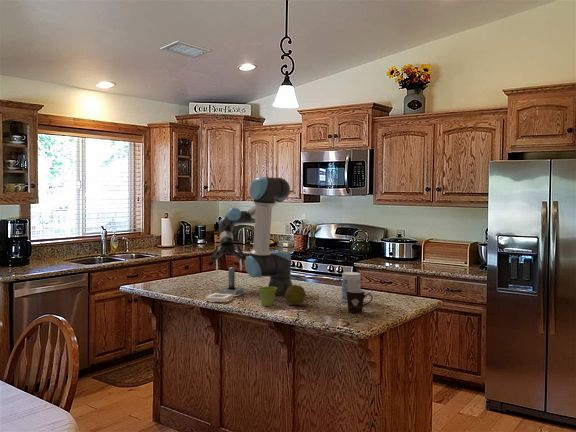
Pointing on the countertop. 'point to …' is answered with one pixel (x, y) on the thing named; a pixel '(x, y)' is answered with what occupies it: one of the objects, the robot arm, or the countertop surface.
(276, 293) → the robot arm
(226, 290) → the socket block
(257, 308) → the countertop surface
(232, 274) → the rod
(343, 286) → the supplement tub
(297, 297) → the apple
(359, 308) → the coffee mug
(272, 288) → the plant pot
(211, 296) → the block
